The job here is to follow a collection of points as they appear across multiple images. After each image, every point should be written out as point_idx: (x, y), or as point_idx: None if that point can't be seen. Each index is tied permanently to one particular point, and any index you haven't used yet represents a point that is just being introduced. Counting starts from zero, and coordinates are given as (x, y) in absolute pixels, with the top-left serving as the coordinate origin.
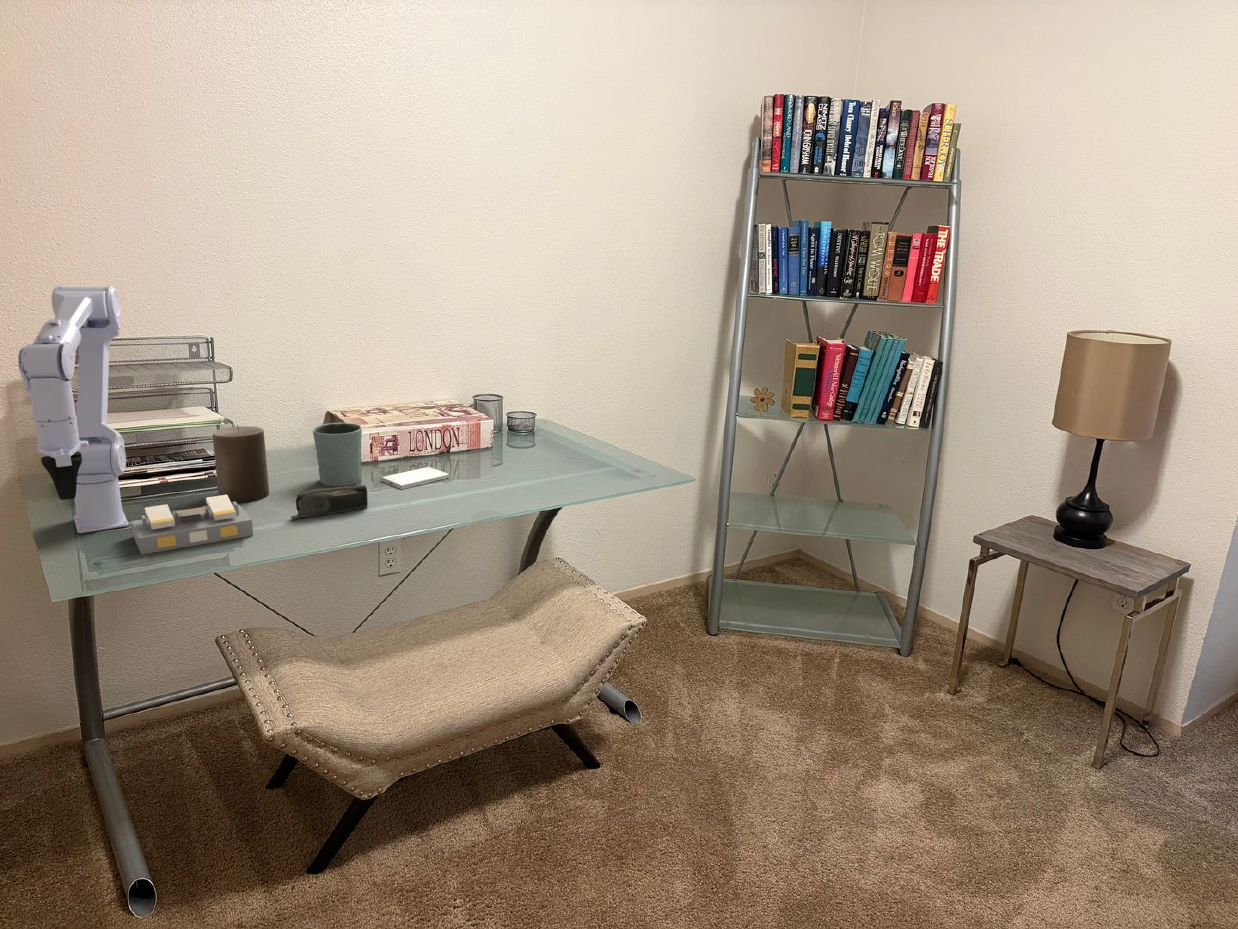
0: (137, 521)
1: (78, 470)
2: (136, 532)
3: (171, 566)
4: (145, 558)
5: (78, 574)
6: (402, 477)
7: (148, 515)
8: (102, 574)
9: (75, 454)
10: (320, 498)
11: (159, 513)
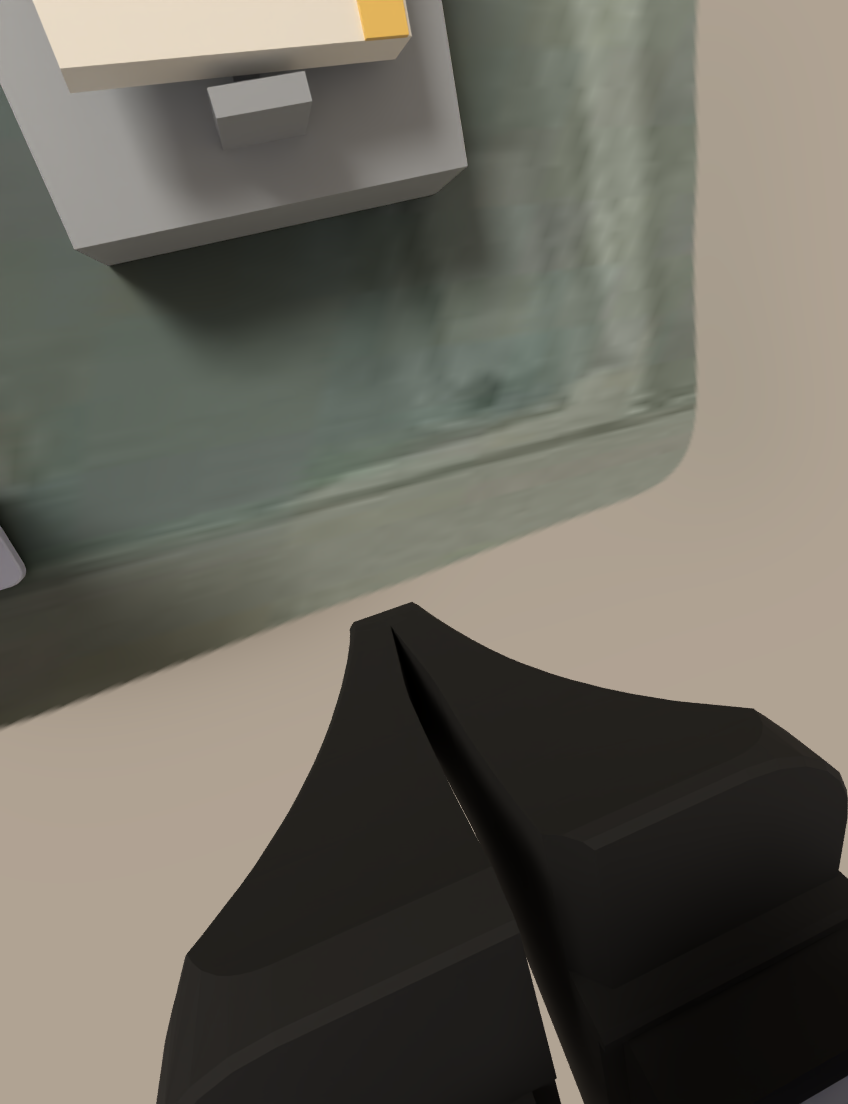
0: (93, 198)
1: (608, 689)
2: (349, 191)
3: (645, 16)
4: (490, 168)
5: (575, 446)
6: None
7: (244, 44)
8: (611, 353)
9: (490, 1020)
10: None
11: None
